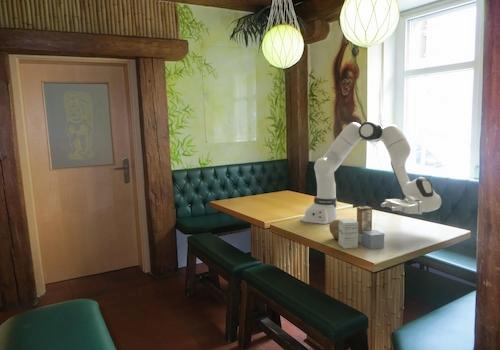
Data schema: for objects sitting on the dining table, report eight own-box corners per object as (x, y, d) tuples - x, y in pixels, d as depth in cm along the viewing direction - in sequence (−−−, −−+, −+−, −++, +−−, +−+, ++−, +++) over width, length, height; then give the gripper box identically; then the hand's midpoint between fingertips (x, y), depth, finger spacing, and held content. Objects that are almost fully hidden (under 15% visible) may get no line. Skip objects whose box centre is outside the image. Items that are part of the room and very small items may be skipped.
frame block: (367, 231, 195) (367, 206, 193) (371, 233, 191) (372, 207, 189) (356, 232, 193) (356, 207, 192) (360, 234, 190) (361, 208, 188)
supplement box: (338, 243, 189) (338, 218, 187) (352, 243, 189) (353, 218, 188) (343, 248, 181) (343, 222, 180) (358, 248, 182) (358, 222, 180)
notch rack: (366, 237, 197) (366, 225, 196) (384, 247, 182) (384, 234, 181) (354, 239, 196) (354, 226, 195) (370, 248, 180) (370, 235, 179)
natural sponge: (345, 236, 201) (345, 217, 200) (349, 241, 192) (349, 222, 191) (328, 236, 201) (328, 217, 200) (330, 241, 193) (331, 222, 191)
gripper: (398, 195, 206) (375, 197, 203) (424, 202, 186) (399, 204, 183) (398, 206, 207) (375, 209, 204) (424, 215, 187) (398, 217, 184)
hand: (386, 207), depth 193 cm, fingers open, 8 cm apart
